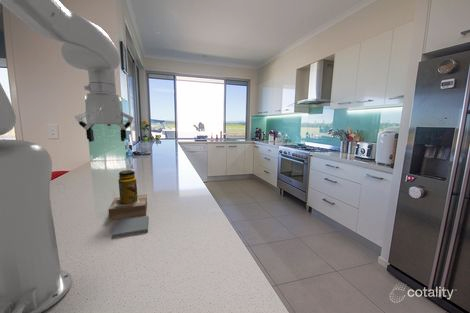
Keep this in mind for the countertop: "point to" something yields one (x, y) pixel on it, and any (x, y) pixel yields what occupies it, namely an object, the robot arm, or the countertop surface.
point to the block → (128, 209)
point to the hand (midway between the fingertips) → (107, 141)
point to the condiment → (127, 189)
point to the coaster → (131, 226)
